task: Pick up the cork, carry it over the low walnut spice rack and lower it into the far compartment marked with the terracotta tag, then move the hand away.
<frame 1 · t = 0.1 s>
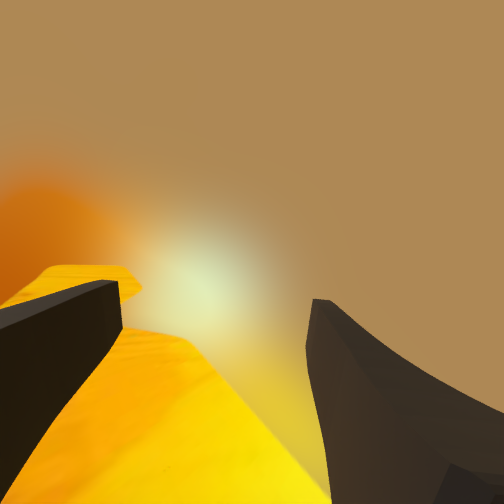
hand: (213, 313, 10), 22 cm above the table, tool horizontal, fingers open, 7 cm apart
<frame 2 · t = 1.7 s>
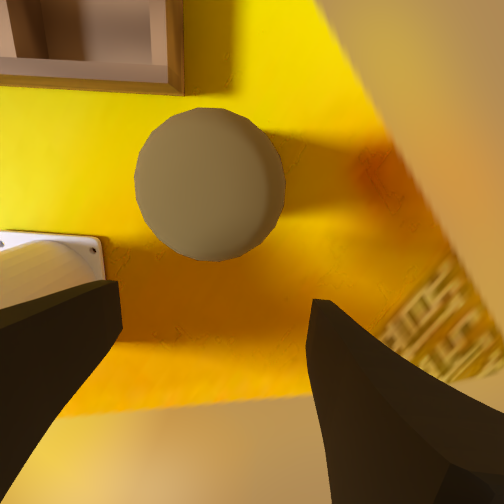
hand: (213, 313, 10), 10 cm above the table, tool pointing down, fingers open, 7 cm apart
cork: (238, 175, 19), on the table
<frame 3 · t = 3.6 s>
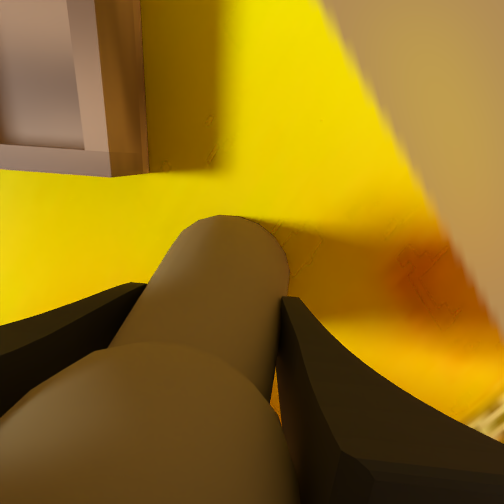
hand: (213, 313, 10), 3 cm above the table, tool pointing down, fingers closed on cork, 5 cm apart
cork: (227, 274, 13), on the table, touching gripper
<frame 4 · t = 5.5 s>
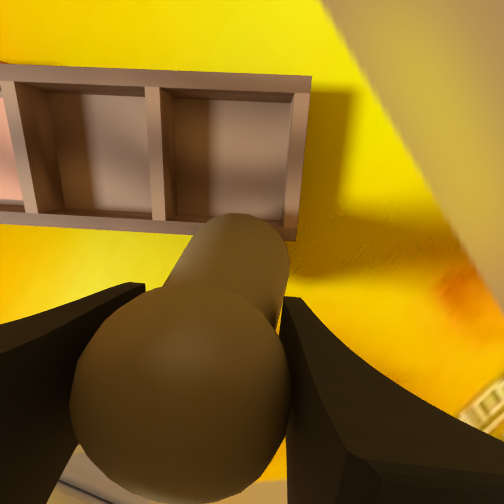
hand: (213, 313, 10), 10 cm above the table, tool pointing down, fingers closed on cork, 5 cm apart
spice rack: (114, 156, 19), on the table
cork: (237, 263, 16), point 4 cm above the table, touching gripper
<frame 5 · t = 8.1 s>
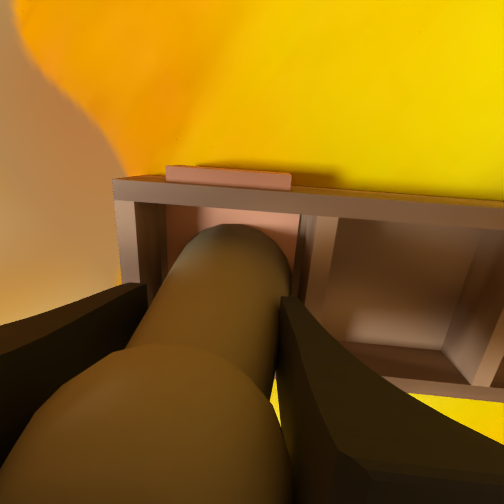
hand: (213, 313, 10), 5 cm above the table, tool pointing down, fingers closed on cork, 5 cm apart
spice rack: (383, 279, 14), on the table
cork: (233, 279, 14), point 1 cm above the table, touching gripper, spice rack
when the fingers open (5 cm above the table, at t = 8.4 s): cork stays where it is, resting on spice rack.
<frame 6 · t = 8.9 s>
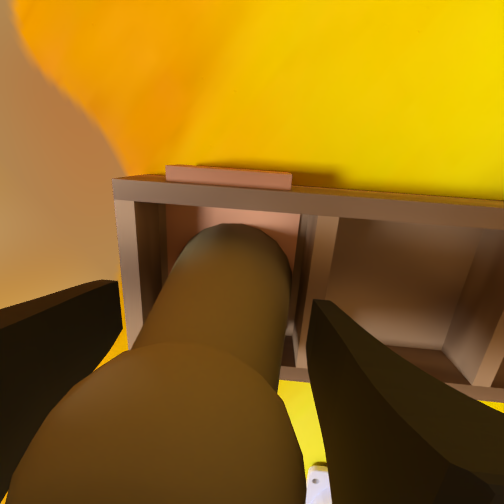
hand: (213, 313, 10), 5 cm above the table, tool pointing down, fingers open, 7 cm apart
spice rack: (383, 279, 14), on the table
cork: (233, 278, 14), point 1 cm above the table, touching spice rack
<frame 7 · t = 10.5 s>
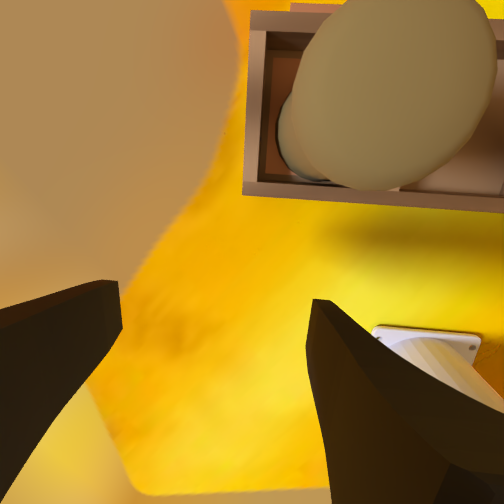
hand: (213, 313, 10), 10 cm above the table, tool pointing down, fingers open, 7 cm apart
spice rack: (450, 130, 17), on the table
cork: (323, 131, 17), point 1 cm above the table, touching spice rack
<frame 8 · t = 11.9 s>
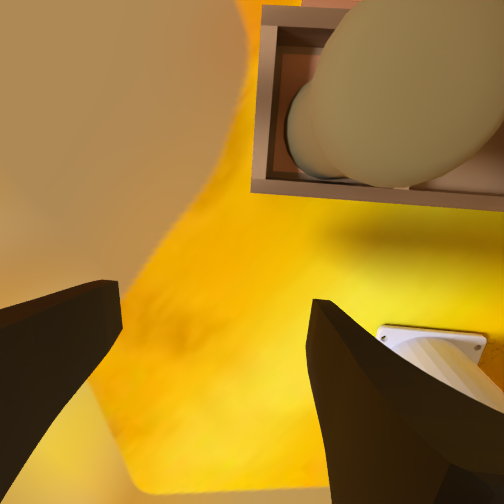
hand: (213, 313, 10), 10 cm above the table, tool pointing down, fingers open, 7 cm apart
spice rack: (460, 129, 17), on the table
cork: (332, 128, 17), point 1 cm above the table, touching spice rack
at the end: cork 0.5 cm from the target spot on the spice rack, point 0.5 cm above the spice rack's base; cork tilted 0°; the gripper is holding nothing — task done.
